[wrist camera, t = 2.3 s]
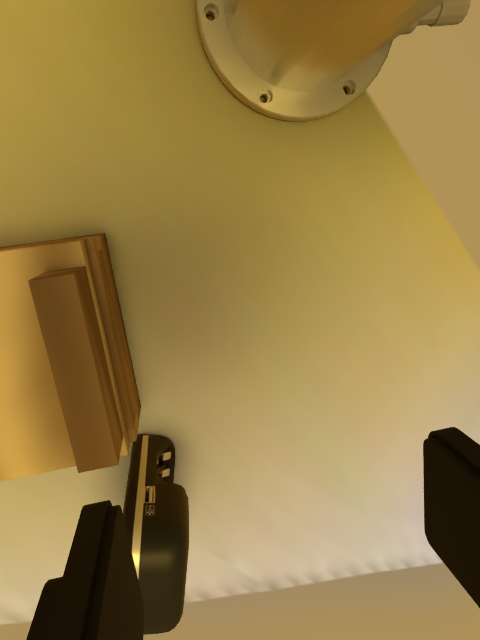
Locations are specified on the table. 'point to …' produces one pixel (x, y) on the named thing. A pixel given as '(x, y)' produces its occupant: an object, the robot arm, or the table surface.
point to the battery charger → (157, 531)
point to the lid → (55, 366)
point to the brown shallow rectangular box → (110, 325)
